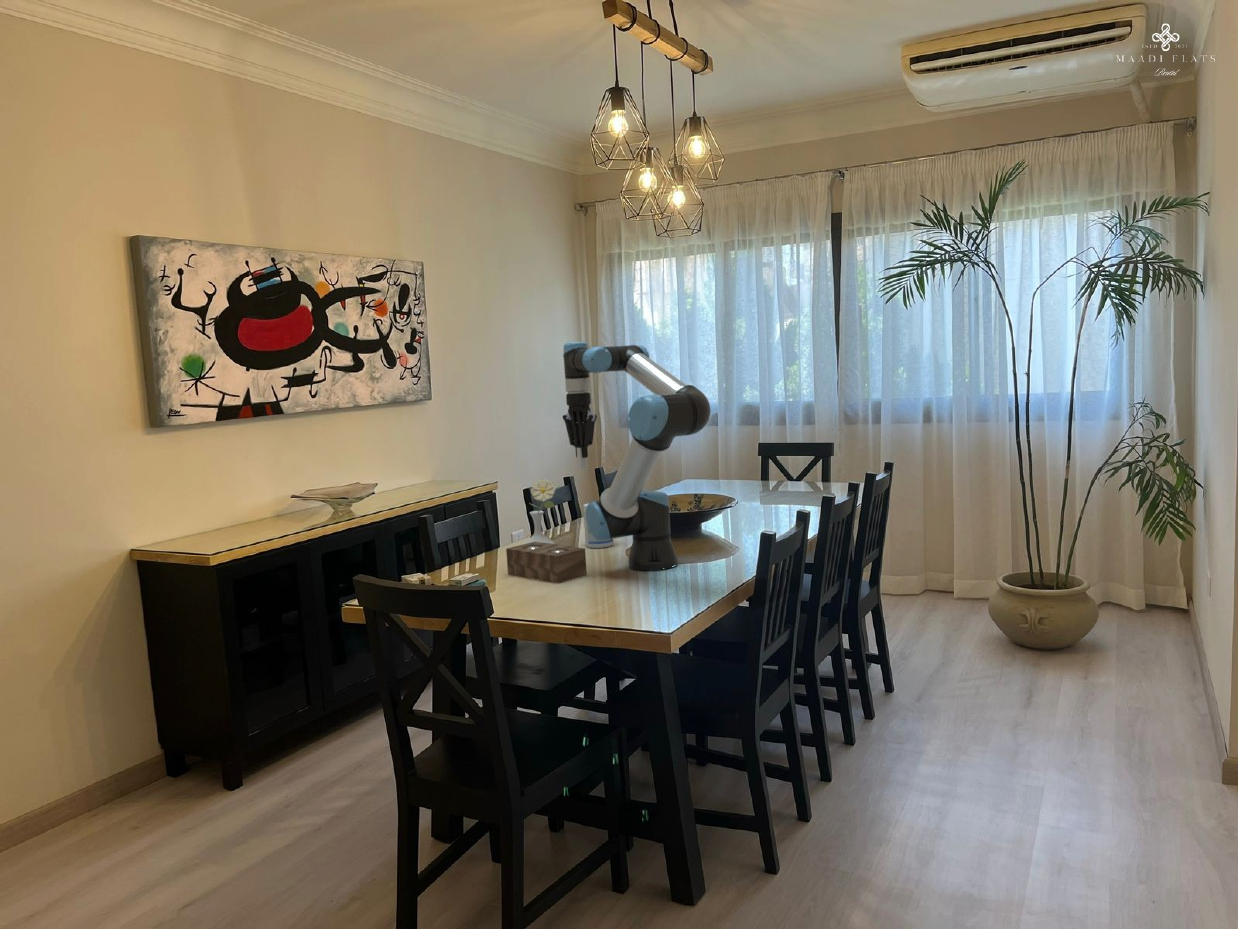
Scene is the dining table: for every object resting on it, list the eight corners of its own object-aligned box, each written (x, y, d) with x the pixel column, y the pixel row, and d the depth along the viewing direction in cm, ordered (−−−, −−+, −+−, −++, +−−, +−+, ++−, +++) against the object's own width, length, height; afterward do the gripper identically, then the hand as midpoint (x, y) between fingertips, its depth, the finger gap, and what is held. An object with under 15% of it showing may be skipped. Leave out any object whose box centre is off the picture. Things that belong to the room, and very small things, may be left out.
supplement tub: (618, 545, 313) (616, 503, 312) (595, 550, 308) (592, 507, 307) (603, 542, 322) (601, 500, 320) (580, 546, 316) (577, 504, 315)
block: (586, 574, 273) (585, 548, 272) (557, 583, 264) (556, 556, 264) (536, 566, 288) (535, 541, 287) (507, 574, 279) (506, 548, 278)
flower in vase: (517, 555, 307) (511, 481, 304) (530, 548, 317) (526, 477, 315) (552, 556, 302) (548, 481, 300) (565, 549, 313) (561, 476, 310)
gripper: (601, 391, 280) (606, 467, 283) (571, 392, 289) (576, 465, 292) (584, 392, 275) (589, 470, 278) (554, 393, 284) (559, 468, 286)
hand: (582, 468), depth 285 cm, fingers closed
